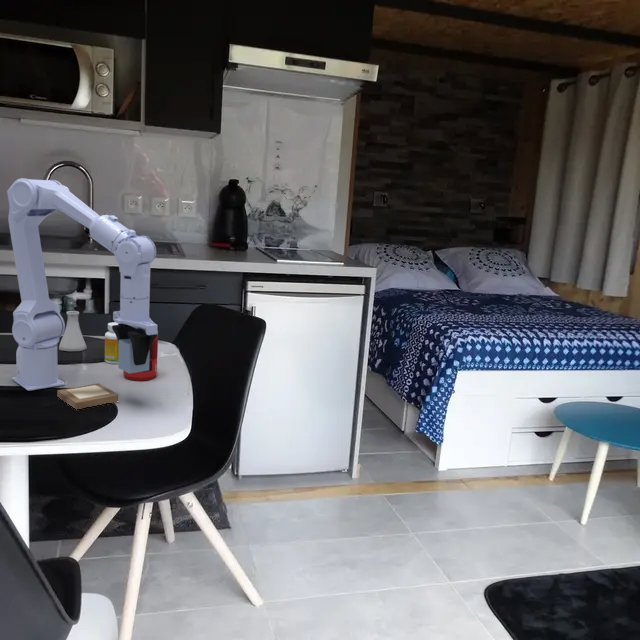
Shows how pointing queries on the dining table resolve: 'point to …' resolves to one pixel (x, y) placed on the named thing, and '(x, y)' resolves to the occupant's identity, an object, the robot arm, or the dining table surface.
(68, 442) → the dining table surface
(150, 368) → the canned food
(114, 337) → the supplement bottle
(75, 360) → the dining table surface
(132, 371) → the block
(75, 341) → the flask
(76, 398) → the plinth
